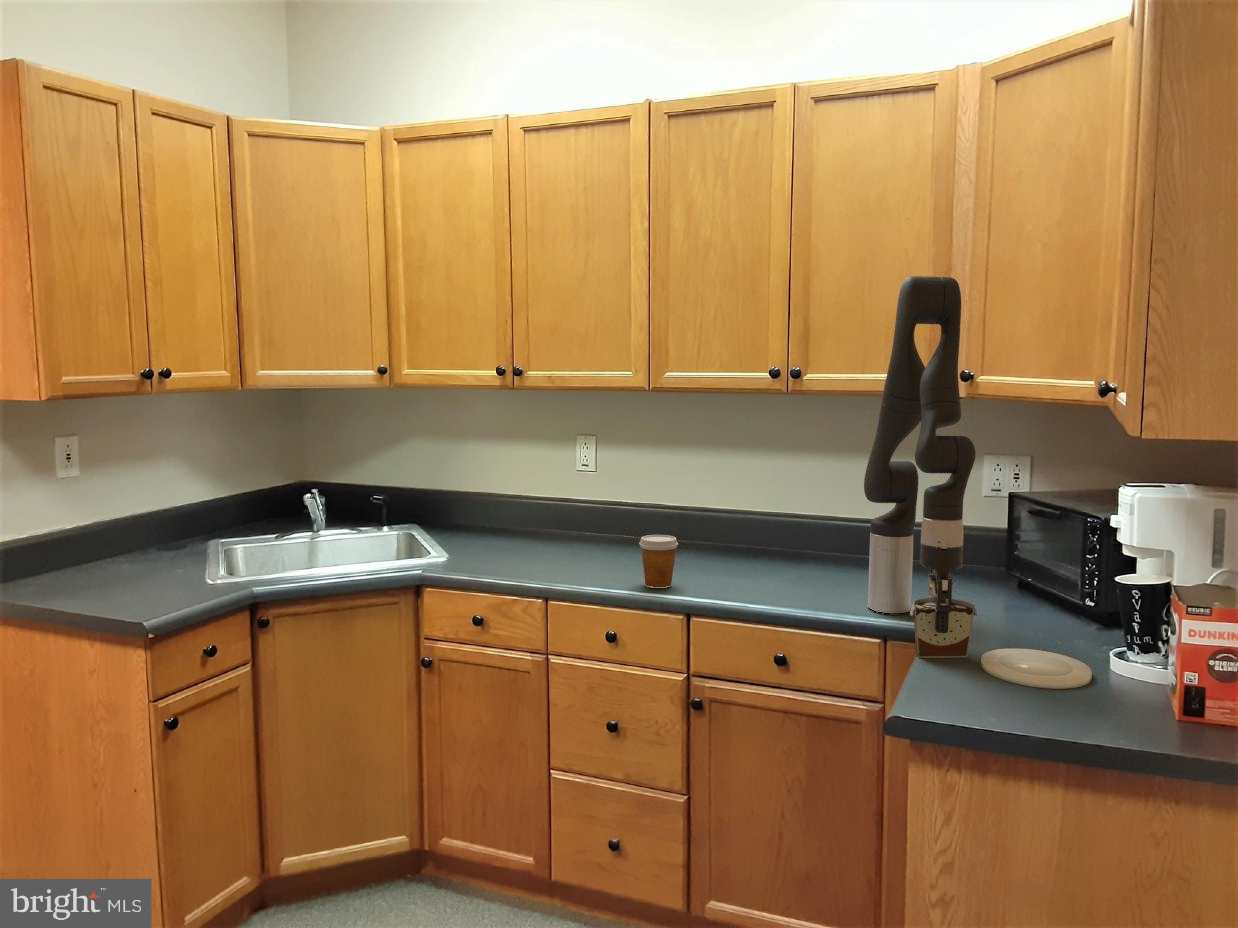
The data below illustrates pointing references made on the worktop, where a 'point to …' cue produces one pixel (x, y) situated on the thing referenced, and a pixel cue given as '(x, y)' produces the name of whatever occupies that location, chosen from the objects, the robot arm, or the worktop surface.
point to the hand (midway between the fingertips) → (938, 626)
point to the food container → (942, 643)
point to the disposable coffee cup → (658, 559)
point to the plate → (1036, 668)
